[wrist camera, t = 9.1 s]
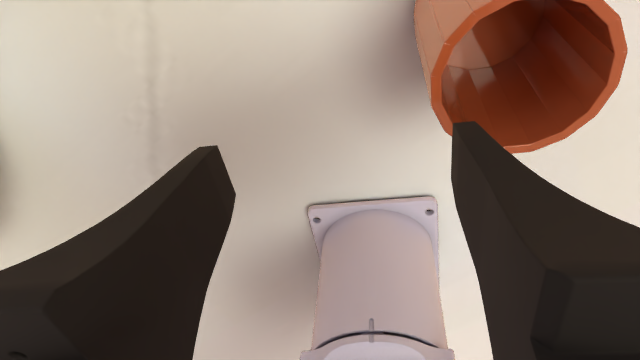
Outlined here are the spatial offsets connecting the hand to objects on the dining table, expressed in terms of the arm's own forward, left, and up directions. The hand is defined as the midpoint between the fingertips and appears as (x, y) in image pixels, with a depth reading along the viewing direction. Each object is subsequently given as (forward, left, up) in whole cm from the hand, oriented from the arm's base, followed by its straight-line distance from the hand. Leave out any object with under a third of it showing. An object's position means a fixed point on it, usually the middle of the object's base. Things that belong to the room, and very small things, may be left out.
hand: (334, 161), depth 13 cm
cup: (+1, -6, -9) cm, 11 cm away
